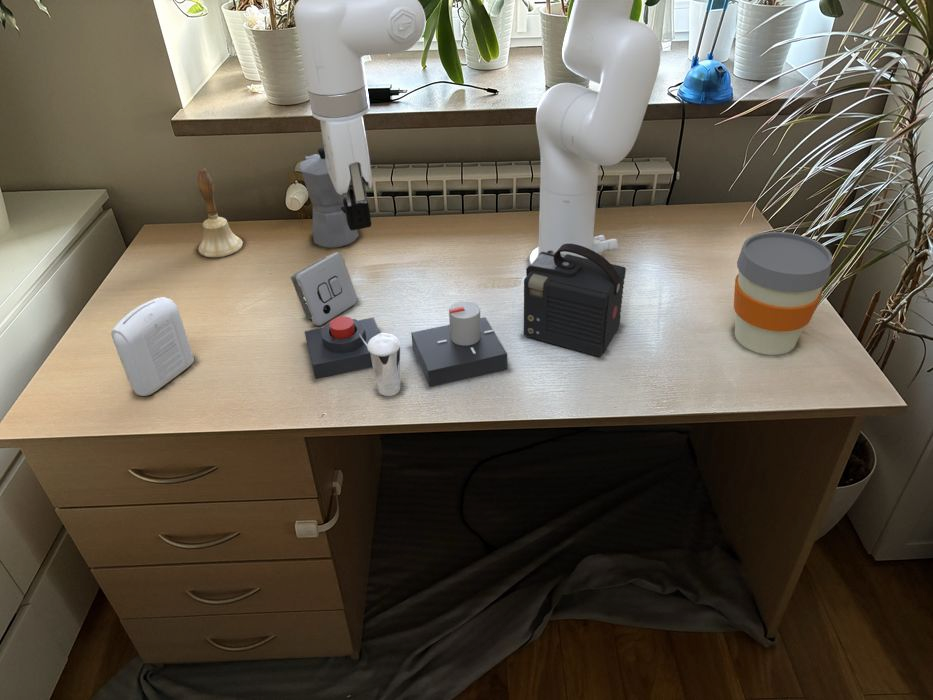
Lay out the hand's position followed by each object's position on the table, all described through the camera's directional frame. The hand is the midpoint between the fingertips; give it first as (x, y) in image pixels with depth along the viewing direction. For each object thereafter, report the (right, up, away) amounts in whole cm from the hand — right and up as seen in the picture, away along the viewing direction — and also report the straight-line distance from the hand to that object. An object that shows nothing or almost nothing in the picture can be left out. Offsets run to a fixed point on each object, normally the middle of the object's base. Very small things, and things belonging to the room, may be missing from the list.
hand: (359, 226), depth 108 cm
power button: (-3, -15, +5) cm, 16 cm away
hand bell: (-32, +2, +36) cm, 48 cm away
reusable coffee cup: (+61, -16, +8) cm, 64 cm away
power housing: (-3, -19, +8) cm, 20 cm away
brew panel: (+14, -19, +6) cm, 25 cm away
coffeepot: (-9, +3, +37) cm, 38 cm away
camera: (+32, -15, +11) cm, 37 cm away
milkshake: (+4, -24, +1) cm, 24 cm away
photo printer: (-30, -22, +5) cm, 38 cm away
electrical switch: (-8, -11, +18) cm, 22 cm away
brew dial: (+15, -16, +5) cm, 23 cm away
